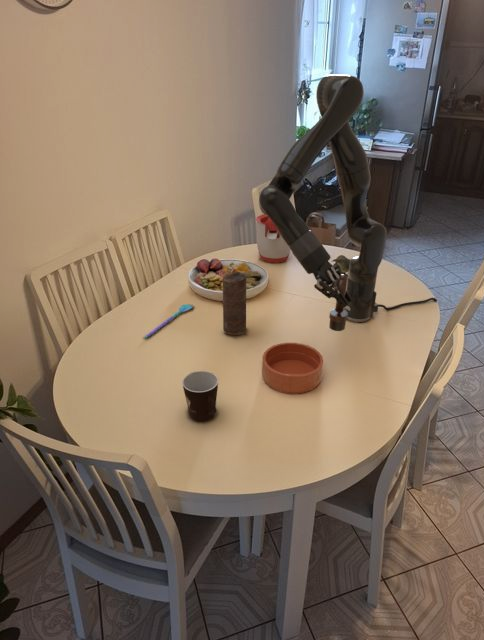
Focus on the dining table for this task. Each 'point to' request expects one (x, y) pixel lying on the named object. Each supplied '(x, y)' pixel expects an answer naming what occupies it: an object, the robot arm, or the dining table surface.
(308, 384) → the basin
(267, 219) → the citrus juicer
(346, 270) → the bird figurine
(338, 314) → the tamper
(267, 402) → the dining table surface
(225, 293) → the candle
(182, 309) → the spoon
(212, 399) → the coffee mug
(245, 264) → the bowl
